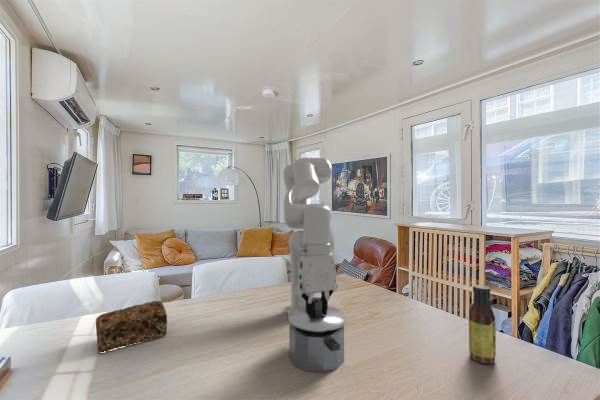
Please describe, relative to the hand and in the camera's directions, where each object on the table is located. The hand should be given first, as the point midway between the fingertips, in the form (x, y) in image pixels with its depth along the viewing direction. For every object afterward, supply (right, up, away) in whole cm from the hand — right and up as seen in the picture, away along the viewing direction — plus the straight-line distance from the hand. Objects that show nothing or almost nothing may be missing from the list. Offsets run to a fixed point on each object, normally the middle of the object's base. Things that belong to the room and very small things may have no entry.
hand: (316, 313), depth 80 cm
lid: (0, -1, 0) cm, 1 cm away
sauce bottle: (+46, -12, -1) cm, 47 cm away
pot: (0, -12, 0) cm, 12 cm away
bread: (-57, -12, +10) cm, 59 cm away
